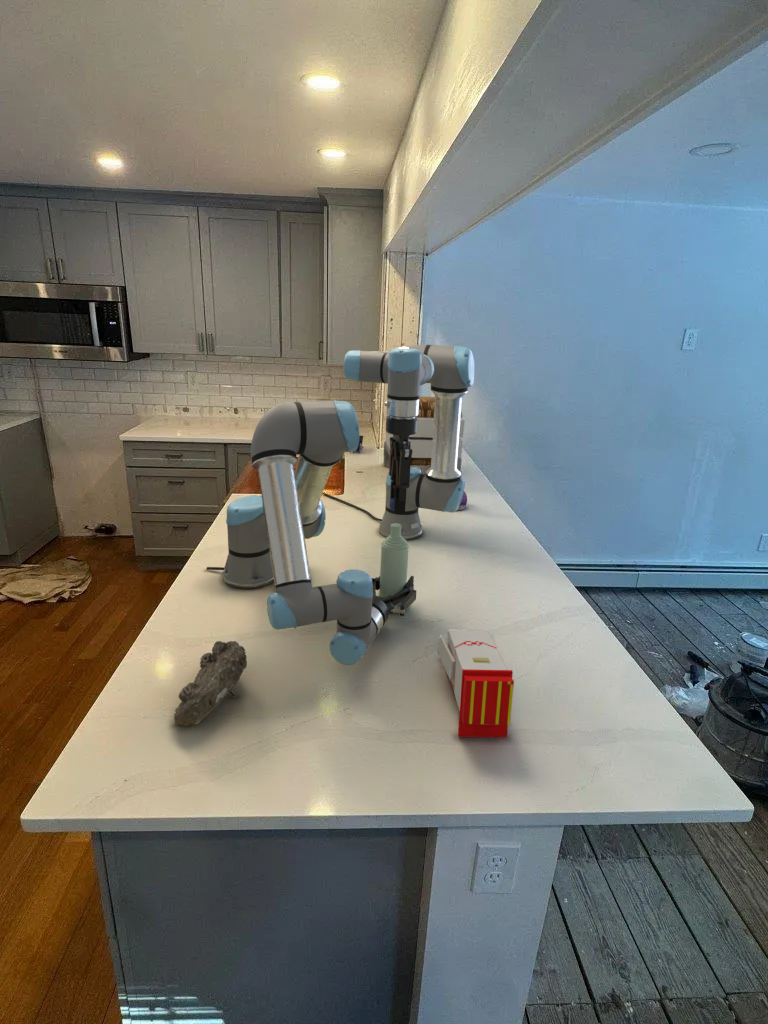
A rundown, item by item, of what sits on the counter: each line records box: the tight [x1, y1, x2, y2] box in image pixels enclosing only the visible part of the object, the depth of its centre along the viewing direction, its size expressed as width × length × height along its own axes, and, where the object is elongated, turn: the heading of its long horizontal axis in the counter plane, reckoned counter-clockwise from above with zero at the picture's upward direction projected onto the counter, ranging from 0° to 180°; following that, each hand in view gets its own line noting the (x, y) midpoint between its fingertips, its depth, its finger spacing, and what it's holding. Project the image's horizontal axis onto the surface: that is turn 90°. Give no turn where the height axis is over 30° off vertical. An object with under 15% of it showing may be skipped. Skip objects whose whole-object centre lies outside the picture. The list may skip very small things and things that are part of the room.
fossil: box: [173, 640, 248, 727], centre depth 113 cm, size 22×10×15 cm
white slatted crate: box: [383, 396, 465, 471], centre depth 268 cm, size 34×33×41 cm
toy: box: [437, 628, 515, 738], centre depth 117 cm, size 12×13×30 cm
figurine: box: [456, 470, 468, 511], centre depth 227 cm, size 9×10×15 cm
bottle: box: [378, 523, 410, 614], centre depth 147 cm, size 7×7×23 cm
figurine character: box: [352, 434, 364, 454], centre depth 311 cm, size 7×8×15 cm
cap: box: [389, 498, 406, 511], centre depth 142 cm, size 4×4×2 cm
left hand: (398, 577), depth 154 cm, fingers closed on bottle, 7 cm apart
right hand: (397, 508), depth 142 cm, fingers closed on cap, 4 cm apart
